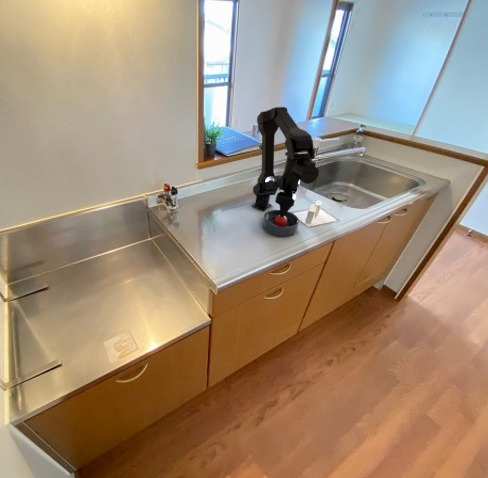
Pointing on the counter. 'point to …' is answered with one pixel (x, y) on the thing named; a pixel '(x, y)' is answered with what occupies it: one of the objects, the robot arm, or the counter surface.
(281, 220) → the tomato
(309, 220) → the napkin holder
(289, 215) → the bowl
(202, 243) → the counter surface
